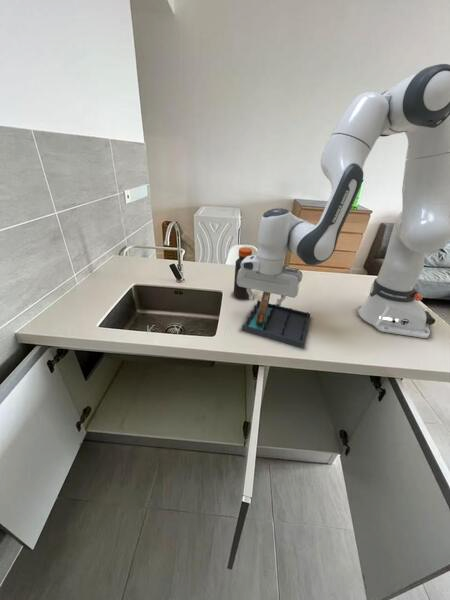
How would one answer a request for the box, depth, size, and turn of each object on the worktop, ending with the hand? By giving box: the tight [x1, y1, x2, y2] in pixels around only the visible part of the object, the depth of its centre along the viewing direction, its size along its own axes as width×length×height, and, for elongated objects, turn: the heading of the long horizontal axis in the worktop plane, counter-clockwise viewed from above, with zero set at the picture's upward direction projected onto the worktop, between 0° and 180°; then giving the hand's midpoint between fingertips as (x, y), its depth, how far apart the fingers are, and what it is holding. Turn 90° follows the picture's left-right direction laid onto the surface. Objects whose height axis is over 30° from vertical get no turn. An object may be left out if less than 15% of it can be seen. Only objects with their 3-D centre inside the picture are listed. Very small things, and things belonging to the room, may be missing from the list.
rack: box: [241, 299, 311, 349], centre depth 84 cm, size 20×18×4 cm
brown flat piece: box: [256, 291, 272, 325], centre depth 85 cm, size 15×3×8 cm, turn 165°
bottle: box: [233, 247, 253, 300], centre depth 96 cm, size 7×7×20 cm
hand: (264, 301), depth 83 cm, fingers open, 8 cm apart
